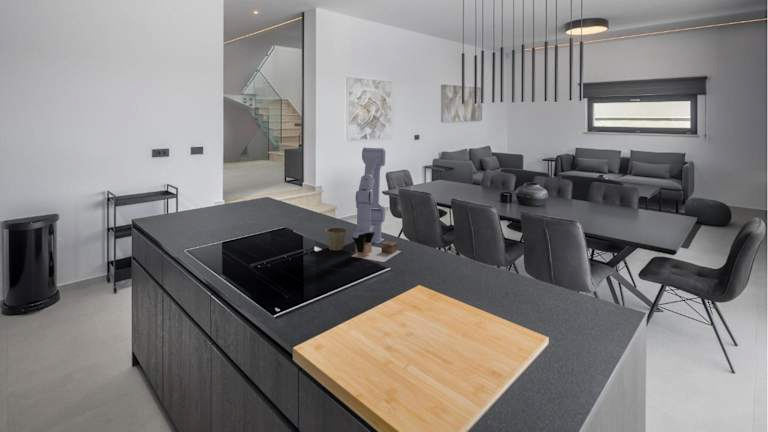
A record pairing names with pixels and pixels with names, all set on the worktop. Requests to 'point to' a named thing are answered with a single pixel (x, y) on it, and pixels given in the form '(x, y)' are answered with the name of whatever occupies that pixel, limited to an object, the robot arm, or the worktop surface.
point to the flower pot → (336, 238)
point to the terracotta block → (365, 249)
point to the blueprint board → (376, 255)
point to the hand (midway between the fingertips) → (363, 250)
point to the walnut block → (389, 247)
